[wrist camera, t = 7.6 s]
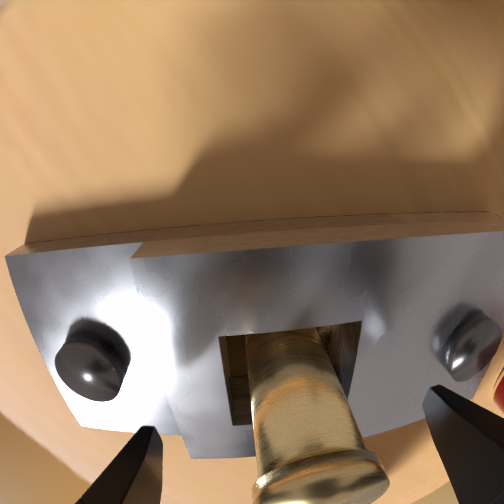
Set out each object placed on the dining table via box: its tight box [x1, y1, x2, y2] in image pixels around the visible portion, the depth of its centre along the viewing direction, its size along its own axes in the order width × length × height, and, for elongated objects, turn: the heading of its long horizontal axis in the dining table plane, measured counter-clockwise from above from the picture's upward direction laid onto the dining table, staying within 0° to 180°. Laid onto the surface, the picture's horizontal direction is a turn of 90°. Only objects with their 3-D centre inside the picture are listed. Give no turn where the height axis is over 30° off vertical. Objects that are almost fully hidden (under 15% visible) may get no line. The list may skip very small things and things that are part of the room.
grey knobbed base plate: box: [5, 212, 504, 459], centre depth 11 cm, size 10×22×4 cm, turn 93°
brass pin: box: [245, 327, 390, 504], centre depth 9 cm, size 3×3×8 cm
